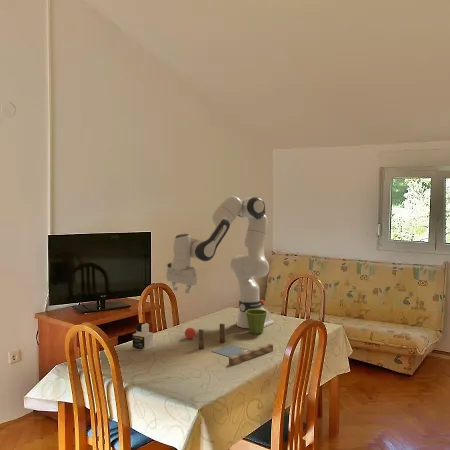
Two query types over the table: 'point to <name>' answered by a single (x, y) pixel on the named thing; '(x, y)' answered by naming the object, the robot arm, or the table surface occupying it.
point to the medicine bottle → (142, 337)
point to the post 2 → (222, 333)
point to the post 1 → (201, 339)
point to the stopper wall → (250, 354)
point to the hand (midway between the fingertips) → (181, 291)
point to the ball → (190, 333)
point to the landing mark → (230, 350)
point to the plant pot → (256, 320)
